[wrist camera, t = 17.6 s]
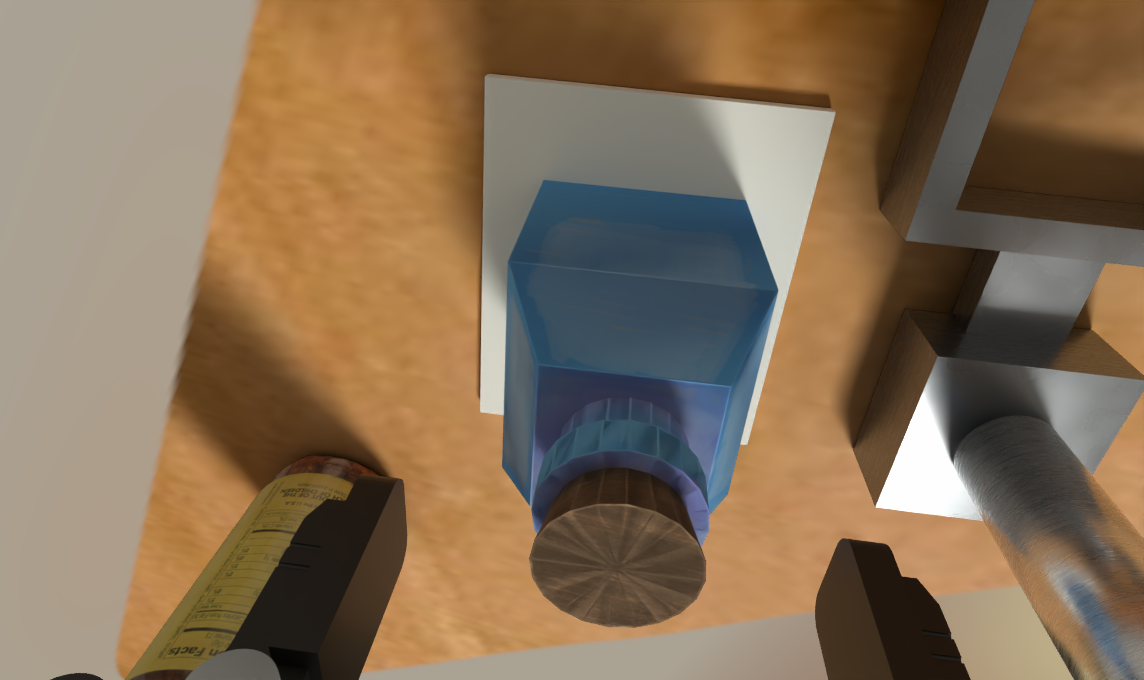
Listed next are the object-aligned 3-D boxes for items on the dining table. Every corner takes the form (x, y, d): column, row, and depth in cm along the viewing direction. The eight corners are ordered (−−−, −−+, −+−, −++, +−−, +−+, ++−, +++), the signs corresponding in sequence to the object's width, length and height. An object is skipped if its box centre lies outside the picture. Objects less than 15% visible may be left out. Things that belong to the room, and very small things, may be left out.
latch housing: (1003, -179, 16) (1070, -201, 14) (1430, -144, 16) (1582, -159, 13) (804, 444, 26) (821, 500, 23) (1067, 476, 25) (1114, 537, 23)
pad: (488, 73, 20) (484, 76, 20) (831, 108, 20) (835, 112, 19) (483, 404, 26) (480, 412, 26) (745, 436, 26) (747, 445, 26)
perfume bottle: (746, 200, 21) (838, 456, 11) (710, 371, 24) (755, 696, 14) (543, 179, 21) (441, 409, 11) (534, 351, 24) (449, 655, 14)
